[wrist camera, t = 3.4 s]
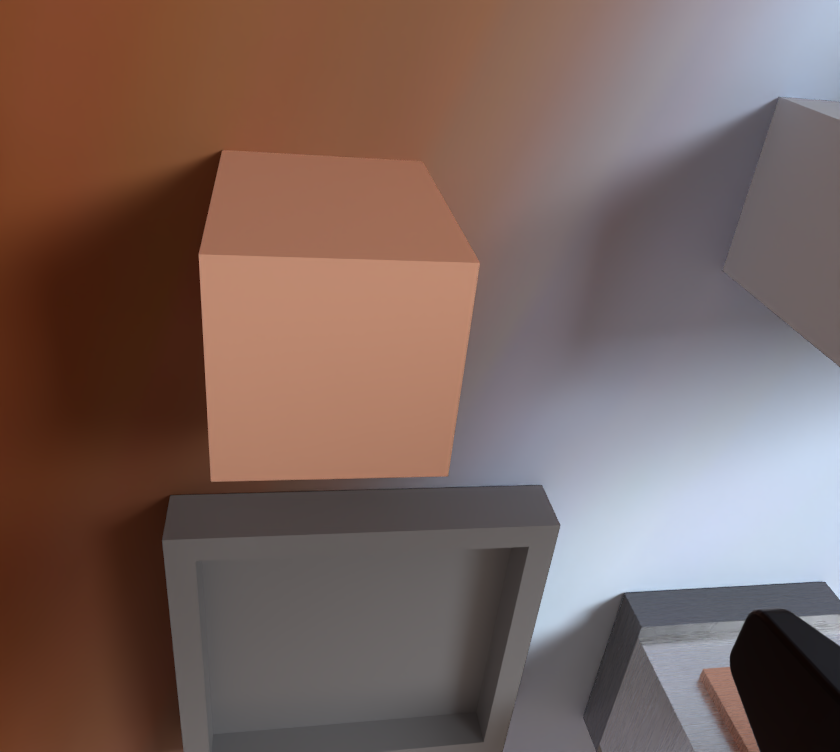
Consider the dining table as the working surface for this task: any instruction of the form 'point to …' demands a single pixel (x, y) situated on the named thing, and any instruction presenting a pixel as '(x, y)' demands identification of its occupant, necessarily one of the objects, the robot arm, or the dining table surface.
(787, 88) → the dining table surface
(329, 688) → the charcoal tray
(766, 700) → the robot arm
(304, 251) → the terracotta block
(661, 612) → the mounted unit
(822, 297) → the grey block
